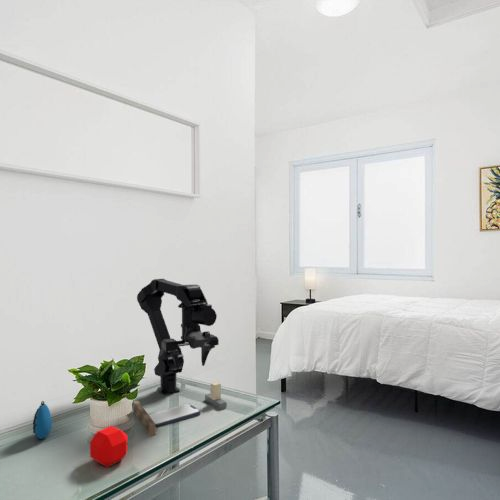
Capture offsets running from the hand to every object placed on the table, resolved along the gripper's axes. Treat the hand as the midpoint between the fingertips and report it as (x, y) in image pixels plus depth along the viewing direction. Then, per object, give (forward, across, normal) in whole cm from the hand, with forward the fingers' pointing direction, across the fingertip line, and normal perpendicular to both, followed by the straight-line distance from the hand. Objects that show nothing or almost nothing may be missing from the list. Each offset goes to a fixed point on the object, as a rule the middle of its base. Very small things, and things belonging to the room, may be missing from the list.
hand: (190, 367), depth 148 cm
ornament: (+11, -46, -8) cm, 48 cm away
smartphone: (+12, -10, -11) cm, 19 cm away
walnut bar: (+11, -19, -11) cm, 24 cm away
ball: (+11, -32, -30) cm, 45 cm away
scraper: (+11, +6, -8) cm, 15 cm away
